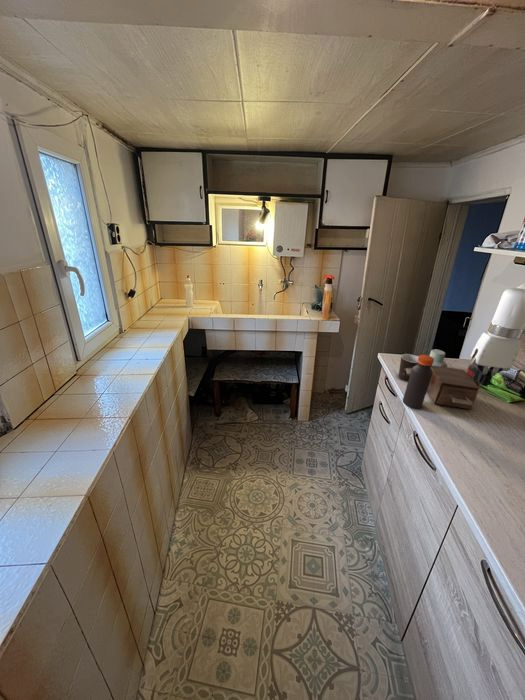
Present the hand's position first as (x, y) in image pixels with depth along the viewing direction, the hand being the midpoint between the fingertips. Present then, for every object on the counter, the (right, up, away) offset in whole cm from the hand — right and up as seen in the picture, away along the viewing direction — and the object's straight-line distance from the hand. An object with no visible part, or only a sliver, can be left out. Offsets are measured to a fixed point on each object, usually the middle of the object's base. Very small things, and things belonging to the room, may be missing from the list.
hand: (481, 384), depth 91 cm
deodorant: (+21, -4, +33) cm, 40 cm away
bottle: (-13, -10, +18) cm, 25 cm away
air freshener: (+11, +1, +44) cm, 45 cm away
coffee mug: (-5, -2, +36) cm, 36 cm away
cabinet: (+4, -8, +24) cm, 26 cm away
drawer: (+3, -9, +20) cm, 22 cm away
